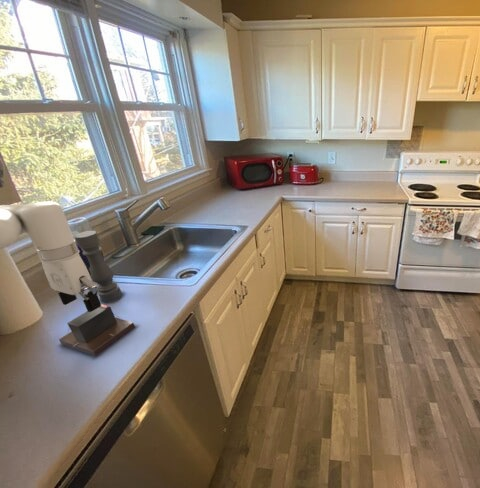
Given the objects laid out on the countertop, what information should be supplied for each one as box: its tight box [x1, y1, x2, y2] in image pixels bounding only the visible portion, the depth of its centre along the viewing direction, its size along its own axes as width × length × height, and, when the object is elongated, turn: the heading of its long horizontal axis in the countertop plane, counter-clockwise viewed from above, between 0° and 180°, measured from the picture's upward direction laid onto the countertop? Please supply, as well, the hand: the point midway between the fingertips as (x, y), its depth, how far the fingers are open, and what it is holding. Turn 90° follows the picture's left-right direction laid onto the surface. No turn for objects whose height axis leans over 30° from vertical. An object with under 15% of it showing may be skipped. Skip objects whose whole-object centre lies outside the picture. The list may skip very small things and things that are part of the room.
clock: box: [67, 303, 117, 343], centre depth 81 cm, size 9×4×6 cm, turn 161°
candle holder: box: [73, 230, 123, 304], centre depth 95 cm, size 6×6×25 cm
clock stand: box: [58, 315, 136, 357], centre depth 83 cm, size 14×13×2 cm
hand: (82, 305), depth 78 cm, fingers open, 9 cm apart
